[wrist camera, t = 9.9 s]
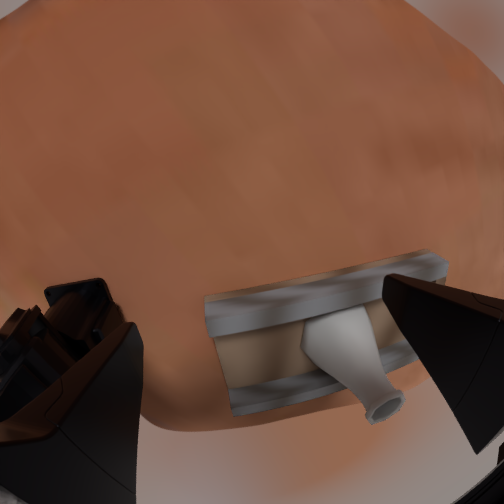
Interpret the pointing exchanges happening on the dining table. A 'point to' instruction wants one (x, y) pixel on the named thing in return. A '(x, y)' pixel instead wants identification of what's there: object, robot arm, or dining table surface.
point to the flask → (352, 358)
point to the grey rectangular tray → (292, 327)
